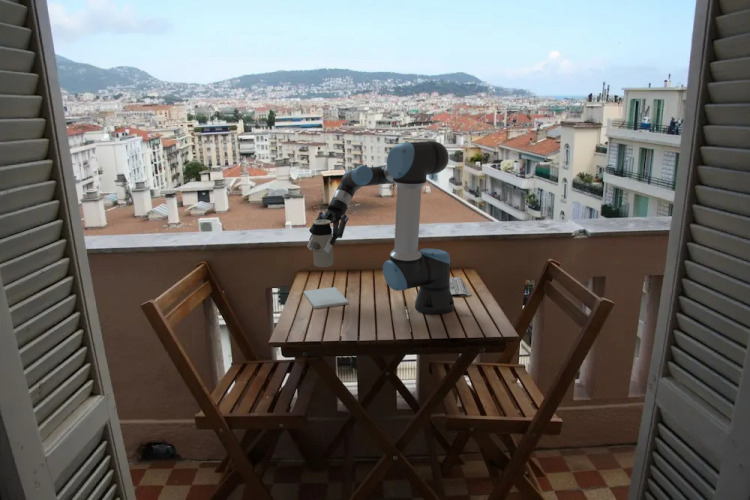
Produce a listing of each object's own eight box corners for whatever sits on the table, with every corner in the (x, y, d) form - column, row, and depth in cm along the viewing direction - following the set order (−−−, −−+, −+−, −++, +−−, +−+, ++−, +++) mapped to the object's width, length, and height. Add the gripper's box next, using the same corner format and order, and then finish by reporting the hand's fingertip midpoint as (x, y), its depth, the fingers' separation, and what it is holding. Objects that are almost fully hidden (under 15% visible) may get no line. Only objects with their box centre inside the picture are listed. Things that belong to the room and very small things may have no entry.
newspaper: (472, 298, 228) (471, 292, 227) (442, 301, 229) (441, 295, 228) (465, 280, 250) (465, 275, 249) (438, 283, 250) (438, 278, 250)
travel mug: (326, 260, 231) (324, 218, 227) (337, 264, 225) (335, 221, 221) (310, 264, 226) (307, 221, 222) (321, 268, 220) (318, 224, 216)
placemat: (348, 304, 222) (348, 301, 222) (314, 308, 218) (314, 306, 218) (335, 289, 241) (335, 287, 240) (303, 293, 236) (303, 291, 236)
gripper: (364, 210, 228) (342, 257, 219) (324, 206, 239) (302, 251, 230) (356, 200, 222) (334, 247, 213) (315, 196, 233) (292, 241, 224)
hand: (317, 249), depth 221 cm, fingers closed on travel mug, 8 cm apart
